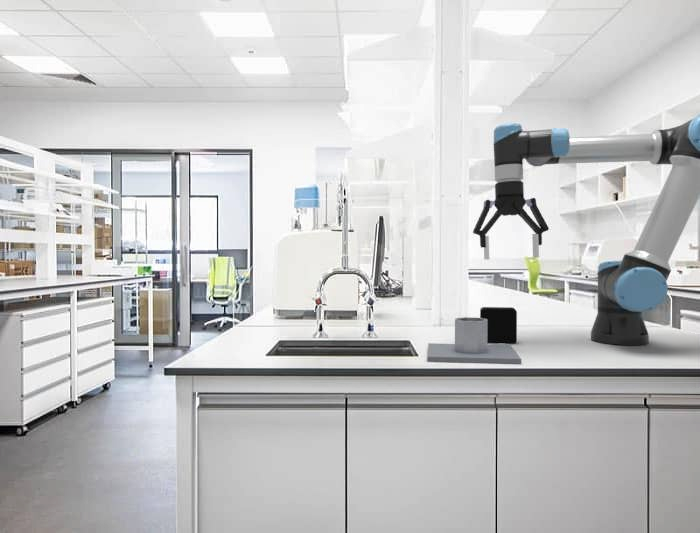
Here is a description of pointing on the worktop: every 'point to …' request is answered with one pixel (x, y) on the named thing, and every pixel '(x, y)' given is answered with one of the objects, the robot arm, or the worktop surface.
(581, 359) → the worktop surface
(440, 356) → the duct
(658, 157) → the robot arm
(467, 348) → the duct sleeve
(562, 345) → the worktop surface
